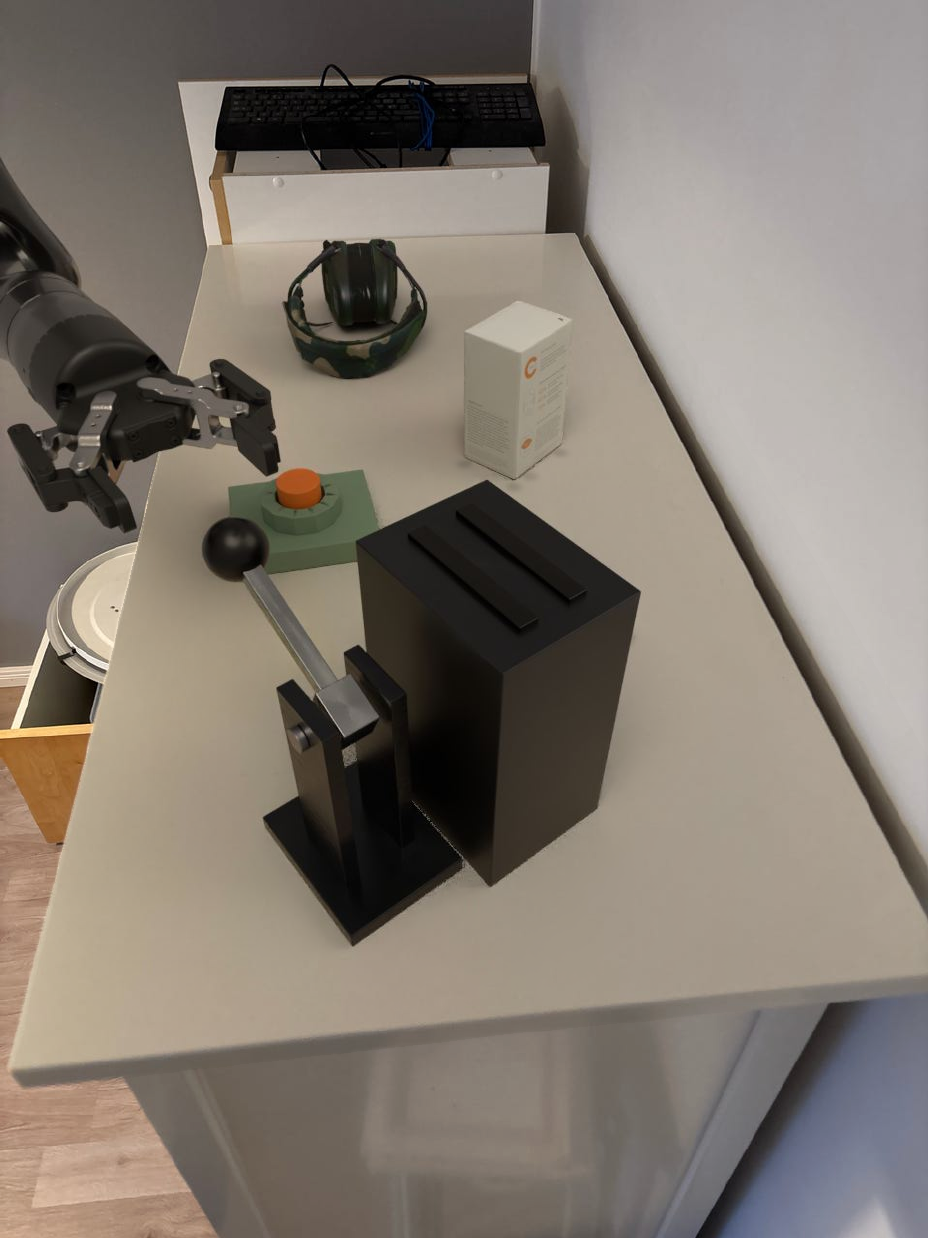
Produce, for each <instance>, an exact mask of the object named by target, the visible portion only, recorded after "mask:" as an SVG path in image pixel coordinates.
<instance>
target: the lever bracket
mask: <svg viewBox="0 0 928 1238" xmlns="http://www.w3.org/2000/svg"><path fill="white" fill-rule="evenodd" d="M343 661H344V669H345V676H347V675H348V674H352V676H353V677H354V679H355V680H356V682H357V683H358V685H359V686H360V688H361V689H362V691H363V692H364V694H365V695H366V697H367V698H368V700H369V701H370V703H371V704H372V706H373V707H374V709H375V710H376V712H377V713H378V714H379V716H380V718H379V720H378V722H377V724H376V726H375V728H374V730H373V732H372V733H371V734H369V735H367V736H366V737H364V738H362V739H361V740H359V741H357V742H355V743H354V749H355V750H354V751H355V757H356V760H355V761H354V762H351V763H349V764H348V765H346V766H345V762H344V761H345V760H344V753H343V750H342V746H341V739H340V732H339V731H338V730H337V729H336V727H335V726H334V725H333V724H332V723H331V722H330V721H329V719H328V718H327V717H326V716H325V715H324V714H323V713H322V711H321V710H320V709H319V708H318V707H317V706H316V705H315V703H314V702H313V699H311V698H310V696H309V695H308V694H307V693H306V692H305V691H304V689H302V687H301V686H300V685H299V684H298V683H297V681H295V679H294V678H291V679H289V680H287V681H285V682H283V683H282V684H280V685H278V686H276V687H275V689H276V694H277V699H278V703H279V709H280V713H281V718H282V722H283V728H284V733H285V737H286V742H287V747H288V751H289V756H290V760H291V766H292V771H293V775H294V780H295V784H296V785H295V786H296V789H297V794H298V795H297V796H295V797H293V798H292V799H290V800H289V801H287V802H285V803H283V804H282V805H280V806H279V807H277V808H275V809H273V810H271V811H270V812H268V813H267V814H265V815H263V817H262V820H263V824H264V828H265V829H266V830H267V832H268V833H269V834H270V836H271V838H272V839H273V840H274V842H275V843H276V845H278V847H279V848H280V850H281V851H282V852H283V854H284V855H285V856H286V858H287V860H288V861H289V862H290V864H291V866H293V868H294V869H295V870H296V872H297V874H299V875H300V877H301V878H302V880H303V881H304V882H305V884H306V885H307V887H308V888H309V889H310V891H311V893H313V895H314V896H315V898H316V899H317V901H318V902H319V903H320V905H321V906H322V907H323V908H324V910H325V911H326V913H327V914H328V916H329V917H330V918H331V919H332V921H333V922H334V924H335V925H336V927H337V928H338V929H339V930H340V932H341V934H342V935H343V936H344V937H345V939H346V940H347V942H348V943H349V944H350V946H352V947H354V946H356V945H357V944H359V943H360V942H361V941H362V940H364V939H366V938H367V937H368V936H370V935H371V934H373V933H374V932H375V931H377V930H378V929H380V928H381V927H382V926H384V925H385V924H387V923H388V922H390V921H391V920H392V919H393V918H395V917H397V916H398V915H399V914H401V913H402V912H403V911H405V910H406V909H408V908H409V907H411V906H412V905H414V904H415V903H416V902H418V901H420V899H422V898H423V897H424V896H426V895H427V894H429V893H430V892H432V891H433V890H434V889H436V888H438V886H440V885H442V884H443V883H444V882H446V881H447V880H449V879H450V878H451V877H453V876H454V875H456V874H457V873H458V872H460V871H461V870H462V869H463V856H462V855H461V854H460V853H459V852H457V850H456V849H455V847H454V846H453V845H452V844H451V843H450V842H449V841H448V840H447V838H446V837H445V836H444V835H443V834H442V833H441V832H439V829H438V828H437V827H436V826H435V825H434V824H433V823H432V822H431V820H430V819H429V818H428V817H427V816H426V815H425V814H424V813H423V811H422V810H421V809H420V808H419V807H417V805H416V804H415V802H414V801H413V800H412V782H411V764H410V745H409V727H408V708H407V693H406V692H405V691H404V690H403V689H402V688H401V687H400V686H399V685H398V684H397V683H396V682H395V681H394V680H393V679H392V678H391V677H390V676H389V675H388V674H387V673H386V672H385V671H384V670H383V669H382V668H381V667H380V666H379V665H378V664H377V663H376V662H375V661H374V660H373V659H372V657H371V656H370V655H369V654H368V653H367V652H366V649H364V648H363V647H362V646H361V645H360V644H356V645H353V646H352V647H350V648H348V649H346V650H345V651H343Z"/></svg>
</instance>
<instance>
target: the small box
mask: <svg viewBox="0 0 928 1238" xmlns="http://www.w3.org/2000/svg"><path fill="white" fill-rule="evenodd" d="M573 324H574V319H573V318H570V317H568V316H565V315H562V314H561V313H557V312H554V311H551V310H549V309H545V308H542V307H540V306H536V305H534V304H531V303H528V302H524V301H521V300H515V301H513V302H512V303H510V304H508V305H507V306H506V307H504V308H502V309H500V310H499V311H497V312H495V313H493V314H492V315H489V316H488V317H486V318H485V319H483V320H481V321H480V322H478V323H476V324H475V325H473V326H471V327H469V328H467V329H465V330H464V331H463V456H464V457H465V458H466V459H468V460H470V461H473V462H474V463H477V464H479V465H481V466H483V467H485V468H488V469H489V470H492V471H494V472H497V473H499V474H501V475H502V476H505V477H507V478H509V479H513V480H516V479H518V478H519V477H520V476H521V475H523V474H524V473H525V472H527V471H528V470H529V469H531V468H532V467H534V465H536V464H537V463H538V462H540V461H541V460H542V459H544V458H545V457H546V456H548V455H549V454H550V453H551V452H553V451H554V450H555V449H557V448H558V447H559V446H561V445H562V444H563V433H564V422H565V412H566V411H565V409H566V399H567V390H568V389H567V388H568V380H569V371H570V369H569V368H570V361H571V360H570V359H571V347H572V338H573V337H572V336H573V327H574V325H573Z"/></svg>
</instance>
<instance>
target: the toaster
mask: <svg viewBox="0 0 928 1238" xmlns="http://www.w3.org/2000/svg"><path fill="white" fill-rule="evenodd" d="M379 529H380V530H377V531H375V532H373V533H371V534H369V535H367V536H364V537H362V538H360V539H358V540H356V541H355V542H356V552H357V561H356V562H357V571H358V582H359V593H360V601H361V602H360V603H361V612H362V622H363V633H364V642H365V643H364V644H365V651H366V652H367V653H368V654H369V655H370V656H371V657H372V659H373V660H374V661H375V662H376V663H377V664H378V665H379V666H380V667H381V668H382V669H383V670H384V671H385V672H386V673H387V674H388V675H389V676H390V677H391V678H392V679H393V680H394V681H395V682H396V683H397V684H398V685H399V686H400V687H401V688H402V689H403V690H404V691H405V692H406V693H407V708H408V727H409V745H410V764H411V782H412V801H413V803H414V804H415V805H416V806H418V809H419V810H420V811H421V812H422V813H423V814H424V815H425V816H426V818H427V819H428V820H429V821H430V822H431V823H432V824H433V825H434V827H435V828H436V829H437V830H438V831H440V833H441V834H442V836H443V837H444V838H445V839H446V840H447V841H448V842H449V843H450V845H451V846H452V847H453V848H454V849H455V850H456V851H458V854H459V855H460V856H461V857H462V858H463V859H465V860H466V862H467V863H468V864H469V866H471V867H472V869H473V870H474V871H475V872H476V873H477V875H479V876H480V878H481V879H482V880H483V881H484V882H485V883H486V884H487V885H488V887H490V888H491V887H493V886H495V884H496V883H498V882H499V881H501V880H503V879H504V878H505V877H506V876H508V875H510V873H512V872H513V871H514V870H516V869H517V868H519V867H520V866H521V865H523V864H524V863H525V862H527V861H528V860H529V859H531V858H532V857H533V856H535V855H536V854H537V853H539V852H540V851H542V850H544V849H545V848H546V847H547V846H548V845H550V844H551V843H553V842H554V841H555V840H557V839H558V838H560V837H561V836H562V835H563V834H565V833H566V832H568V831H569V830H571V828H573V827H574V826H576V825H577V824H578V823H580V822H582V820H584V819H585V818H586V817H588V816H589V815H590V814H592V813H593V812H594V811H596V810H597V809H598V808H599V803H600V797H601V792H602V787H603V783H604V777H605V773H606V768H607V763H608V757H609V752H610V747H611V743H612V738H613V733H614V728H615V723H616V719H617V713H618V708H619V703H620V698H621V693H622V689H623V683H624V679H625V673H626V668H627V664H628V658H629V655H630V654H629V653H630V649H631V645H632V638H633V634H634V629H635V624H636V619H637V614H638V609H639V606H640V601H641V594H642V591H641V590H640V589H639V588H637V587H636V586H634V585H633V583H630V582H629V581H627V580H626V579H625V578H623V577H622V576H621V575H619V574H618V573H616V572H615V571H614V570H613V569H611V568H610V567H608V566H607V565H606V564H604V563H603V562H601V561H600V560H599V559H597V557H595V556H594V555H592V554H590V553H589V552H588V551H586V550H585V549H584V548H582V547H581V546H579V545H578V544H577V543H576V542H574V541H573V540H571V538H569V537H567V536H566V535H564V533H562V532H561V531H559V530H558V529H556V528H555V527H553V526H552V525H551V524H550V523H548V522H546V520H544V519H542V518H541V517H540V516H539V515H537V514H535V513H534V512H533V511H532V510H530V509H528V508H527V507H526V506H524V505H523V504H522V503H521V502H519V501H517V500H516V499H515V498H514V497H512V496H510V495H509V494H508V493H506V492H505V491H504V490H503V489H501V488H500V487H498V486H497V485H496V484H494V483H493V482H491V481H490V480H489V479H485V480H483V481H480V482H478V483H476V484H474V485H472V486H469V487H468V488H465V489H463V490H462V491H459V492H457V493H455V494H452V495H450V496H448V497H446V498H443V499H442V500H440V501H437V502H435V503H433V504H431V505H429V506H426V507H425V508H423V509H420V510H418V511H416V512H414V513H412V514H409V515H407V516H405V517H403V518H400V519H399V520H397V521H395V522H392V523H390V524H388V525H386V526H383V527H382V528H379Z"/></svg>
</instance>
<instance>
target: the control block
mask: <svg viewBox="0 0 928 1238" xmlns="http://www.w3.org/2000/svg"><path fill="white" fill-rule="evenodd" d="M316 473H317V474H318V476H319V478H320V485H321V493H322V498H321V500H320V502H319V503H318V504H316V505H314V506H312V507H310V508H304V509H297V510H295V509H290V508H285V507H284V506H282V505H281V504H280V502H279V499H278V493H277V487H276V480H277V478H278V477H276V478H273V479H272V480H269V481H261V482H253V483H247V484H240V485H231V486H228V487H227V492H228V503H229V504H228V505H229V517H231V516H239V517H245V518H248V519H250V520H252V521H254V522H255V523H256V524H258V525H259V526H260V527H261V528H262V529H263V531H264V532H265V534H266V536H267V538H268V541H269V545H270V555H269V559H268V562H267V564H266V566H265V568H264V570H265V571H266V573H267V574H268V575H272V574H277V573H285V572H286V573H287V572H292V571H298V570H306V569H312V568H319V567H326V566H333V565H339V564H347V563H352V562H357V552H356V542H355V541H356V540H358V539H360V538H362V537H364V536H367V535H369V534H371V533H373V532H375V531H377V530H380V529H381V528H380V526H379V523H378V519H377V515H376V511H375V508H374V504H373V500H372V497H371V492H370V490H369V486H368V482H367V479H366V475H365V471H364V469H356V470H348V471H339V472H332V473H326V474H325V473H320V472H319V473H318V472H316Z"/></svg>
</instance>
